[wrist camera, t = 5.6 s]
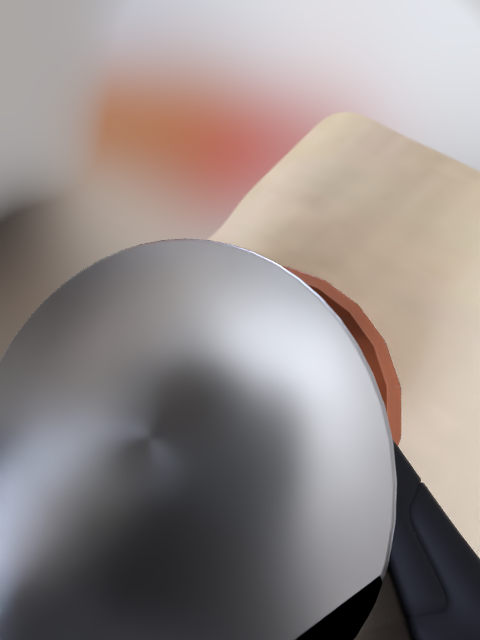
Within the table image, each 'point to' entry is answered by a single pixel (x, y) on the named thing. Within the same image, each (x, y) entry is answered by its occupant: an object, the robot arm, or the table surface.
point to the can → (190, 456)
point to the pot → (364, 346)
